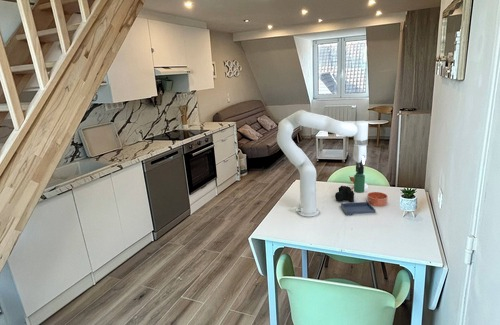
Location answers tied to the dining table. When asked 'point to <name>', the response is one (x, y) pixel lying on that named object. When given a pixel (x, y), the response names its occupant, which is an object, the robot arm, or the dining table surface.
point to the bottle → (359, 181)
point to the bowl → (377, 199)
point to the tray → (357, 208)
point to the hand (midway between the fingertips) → (359, 172)
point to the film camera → (344, 194)
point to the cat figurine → (353, 182)
